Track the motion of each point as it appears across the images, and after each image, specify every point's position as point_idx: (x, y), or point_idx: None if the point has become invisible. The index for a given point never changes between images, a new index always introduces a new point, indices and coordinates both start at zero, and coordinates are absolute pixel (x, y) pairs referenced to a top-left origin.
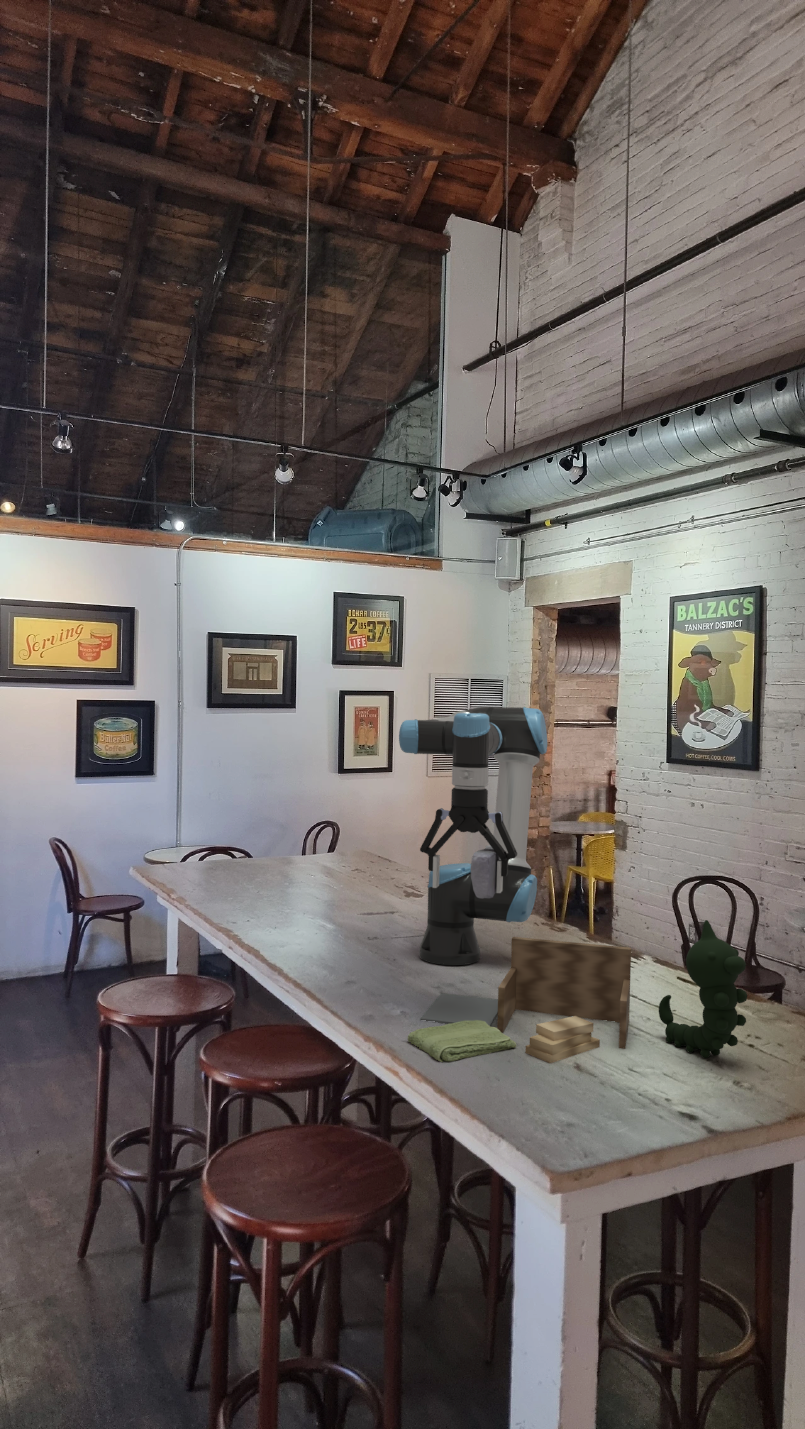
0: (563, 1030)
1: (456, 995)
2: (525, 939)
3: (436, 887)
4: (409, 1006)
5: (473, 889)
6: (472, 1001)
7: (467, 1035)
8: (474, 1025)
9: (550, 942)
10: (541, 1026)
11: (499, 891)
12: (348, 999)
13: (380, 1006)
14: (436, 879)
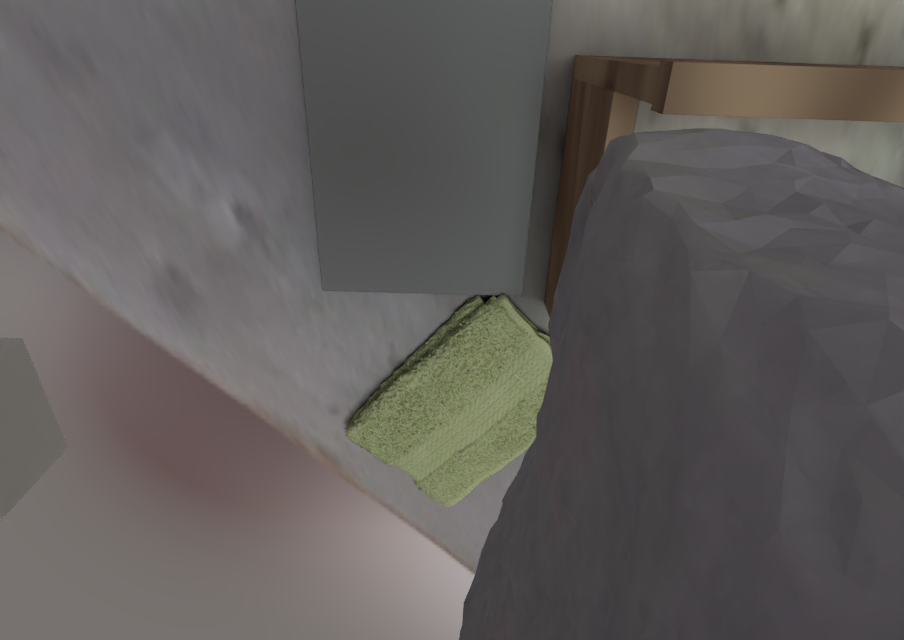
0: None
1: (360, 5)
2: (748, 108)
3: (59, 431)
4: (238, 153)
5: (468, 601)
6: (435, 65)
7: (485, 430)
8: (488, 347)
9: (896, 121)
10: None
11: None
12: (20, 149)
13: (154, 185)
14: (1, 501)
